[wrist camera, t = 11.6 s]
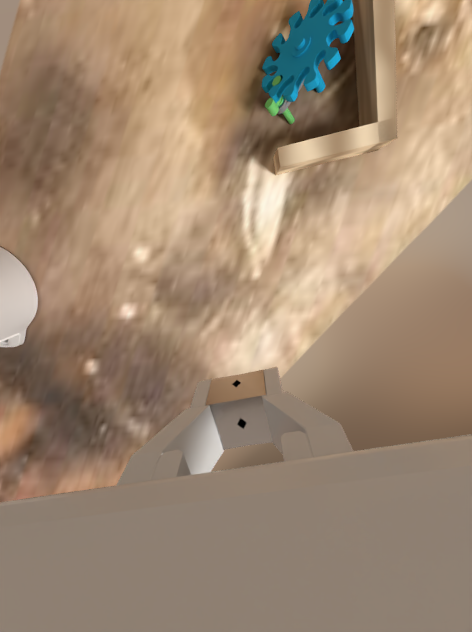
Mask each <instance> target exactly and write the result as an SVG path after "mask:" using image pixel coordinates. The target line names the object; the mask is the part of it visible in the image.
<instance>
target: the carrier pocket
mask: <svg viewBox="0 0 472 632" xmlns="http://www.w3.org/2000/svg"><path fill="white" fill-rule="evenodd" d="M352 3H353V9H354V11H353V26H354V44H355V61H356V78H357V94H358V111H359V127H356V128H352V129H349V130H345V131H341V132H337V133H333V134H329V135H325V136H321V137H317V138H313V139H309V140H305V141H302V142H298V143H294V144H290V145H286V146H282V147H278V148H277V150H276V153H275V155H274V157H273V161H274V168H275V174H276V175H279V174H283V173H287V172H291V171H295V170H300V169H304V168H308V167H312V166H316V165H320V164H324V163H328V162H332V161H336V160H340V159H344V158H348V157H352V156H356V155H361V154H365V153H369V152H373V151H377V150H379V149H380V148H382V147H384V146H385V145H387V144H389V143H390V142H392V141H394V140H395V139H397V92H396V46H395V0H352Z"/></svg>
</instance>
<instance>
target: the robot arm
mask: <svg viewBox="0 0 472 632" xmlns="http://www.w3.org/2000/svg"><path fill="white" fill-rule="evenodd" d="M37 306H38V296H37V291H36V287H35V284H34V282H33V279H32V277H31V276H30V274H29V272H28V271H27V269H26V268H25V267H24V266H23V264H22V263H21V262H20V261H19V260H18V259H17V258H16V257H15V256H13V255H12V254H11V253H10V252H8V251H7V250H5V249H3V248H1V247H0V347H16V346H19V345H21V344H23V343H24V340H25V335H26V329H27V327H28V325H29V324H30V323H31V321H32V320H33V318H34V316H35V314H36V311H37ZM270 442H273V444H274V445H275V446H276V447H277V448H278V449H279V451H280V452H281V453H282V454H283V457H284V462H277V463H270V464H263V465H256V466H249V467H243V468H235V469H228V470H221V471H215V472H211V470H212V469H213V467H214V466H215V464H216V462H217V461H218V459H219V458H220V456H221V455H222V453H223V451H224V450H225V449H230V448H235V447H241V446H246V445H254V444H262V443H270ZM0 632H472V434H471V435H464V436H457V437H450V438H444V439H437V440H429V441H423V442H416V443H409V444H402V445H395V446H389V447H381V448H374V449H367V450H360V451H353V449H352V447H351V445H350V443H349V441H348V439H347V437H346V435H345V432H344V430H343V428H342V426H341V424H340V423H338V422H336V421H335V420H333V419H332V418H330V417H328V416H326V415H325V414H323V413H322V412H320V411H319V410H317V409H315V408H314V407H312V406H310V405H308V404H307V403H305V402H304V401H302V400H300V399H299V398H297V397H295V396H294V395H292V394H290V393H289V392H283V389H282V385H281V380H280V376H279V371H278V368H277V367H274V368H269V369H265V370H259V371H255V372H250V373H245V374H240V375H234V376H228V377H222V378H215V379H209V380H204V381H200V382H198V384H197V387H196V390H195V393H194V396H193V400H192V403H191V406H190V408H189V409H185V410H184V411H183V412H182V413H181V414H180V415H178V416H177V417H176V418H175V419H174V420H173V421H171V422H170V423H169V424H168V425H167V426H166V427H164V428H163V429H162V430H161V431H160V432H159V433H158V434H156V435H155V436H154V437H153V438H152V439H151V440H149V441H148V442H147V443H146V444H145V445H144V446H142V447H141V448H140V449H139V450H138V451H137V452H135V453H134V454H133V455H132V456H131V458H130V460H129V462H128V464H127V466H126V468H125V470H124V472H123V474H122V476H121V478H120V480H119V482H118V483H117V485H116V486H110V487H103V488H96V489H89V490H82V491H75V492H68V493H61V494H54V495H47V496H41V497H34V498H27V499H20V500H13V501H6V502H0Z"/></svg>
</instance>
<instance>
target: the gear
mask: <svg viewBox="0 0 472 632" xmlns="http://www.w3.org/2000/svg"><path fill="white" fill-rule="evenodd" d="M353 11H354V9H353V3H352V0H344V1H342V0H327V2H326V3H325V5H324V2H323V0H311V1H310V4H309V9H308V12H307V14H306V17H305V18H304V20H303V18H302V16H301V14H300V12H299V11H298V12H297V13H295V14H294V15H293V16H292V17H291V18H290V19H289V25H290V28H291V30H290V34H289V38H288V40H287V41H285V39H284V37H283V35H282V34H281V33H280V34H279V35H278V36H277V37H276V38H275V40H274V41H273V43H272V46H273V48H274V50H275V51H276V53H280V56H279V57H278V59H277V60H276V61H273V59H272V57H271V56H269V57H267V59H266V60H265V62H264V64H263V67H262V68H263V70H264V71H265V73H266V74H267V75H266V76H265V77H264V78H263V80H262V88H263V90H264V91H265V92H266V93H268V92H269V95H270V97H271V98H269V99H268V100H267V101H266V103H265V107H266V109H267V110H268V111H269V113H270V114H271V116H275V115H276V114H282V113H283V115H284V116H285V118H286V119H287V121H288V122H289V124H292V123H293V122H294V121H295V119H294V117H293V116H292V114H291V112H290V111H289V109H288V106H289V105H290V103H291V102H294V101H295V100H296V98H297V95H298V91H299V90H300V89H301V87H302V86H303V84H304V86H305V88H306V90H307V91H310V90H312V89H314V88H315V89H316V91H317V92H318V93H320V92H322V91H323V90H324V88H325V83H324V81H323V79H322V77H321V74H320V72H319V70H318V66H319V63H320V62H321V61H322V60H323V59H324V62H325V64H326V67H327V69H328V70H331V69H332V68H333V67H334V66H335V65H336V64H337V63H338V62H339V61H340V59H341V57H340V54H339V51H338V48H336V47H335V48H332V47H329V46H330V44H331V42H332V41H333V40H334V39H336V38H339V39H340V42H341V43H342V44H344V43H346V42H348V40H349V39H350V37H351V35H352V33H353V31H354V26H353V23H352V20H351V19H350V18H351V17H352V16H353ZM339 21H342V22H343V23H341V24H339V25H335V24H336V23H337V22H339ZM334 25H335V26H334ZM275 71H277V72H276V73H275V74H274V75H273V76H270V75H269V74H271V73H272V72H275Z"/></svg>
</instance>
